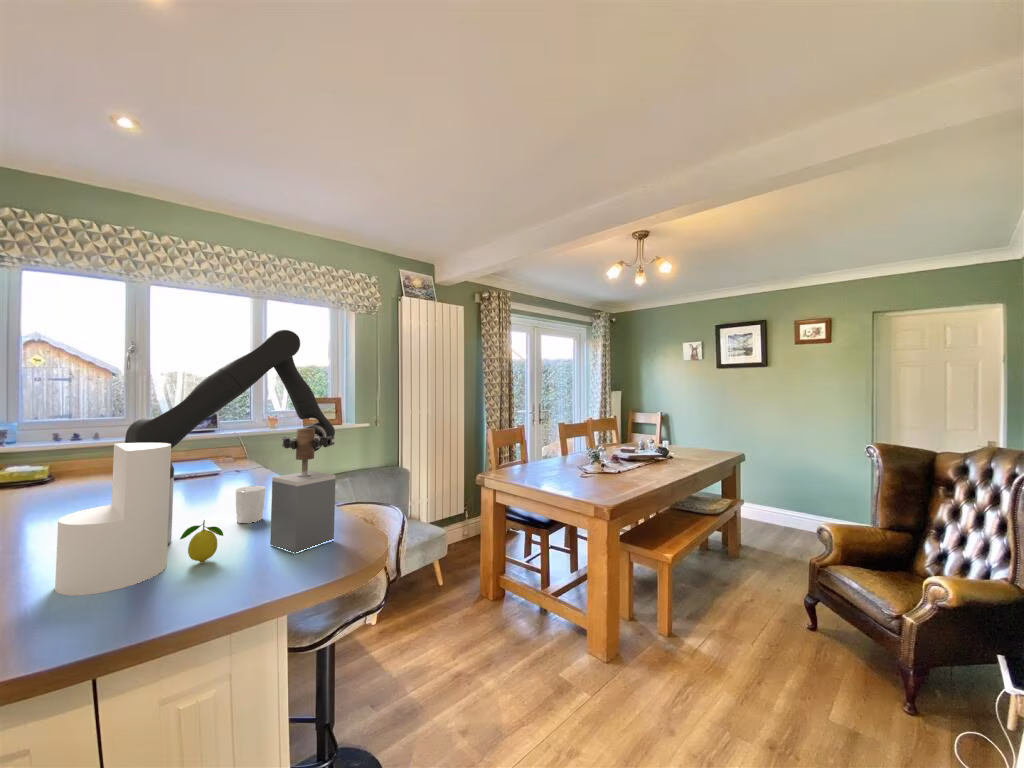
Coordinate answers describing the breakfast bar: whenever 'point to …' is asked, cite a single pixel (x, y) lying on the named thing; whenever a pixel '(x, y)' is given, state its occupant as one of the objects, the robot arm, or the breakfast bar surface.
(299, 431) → the plunger
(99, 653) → the breakfast bar surface
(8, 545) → the breakfast bar surface
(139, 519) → the white stepped oval block
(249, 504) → the white cup
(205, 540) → the lemon
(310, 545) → the grey upright block
